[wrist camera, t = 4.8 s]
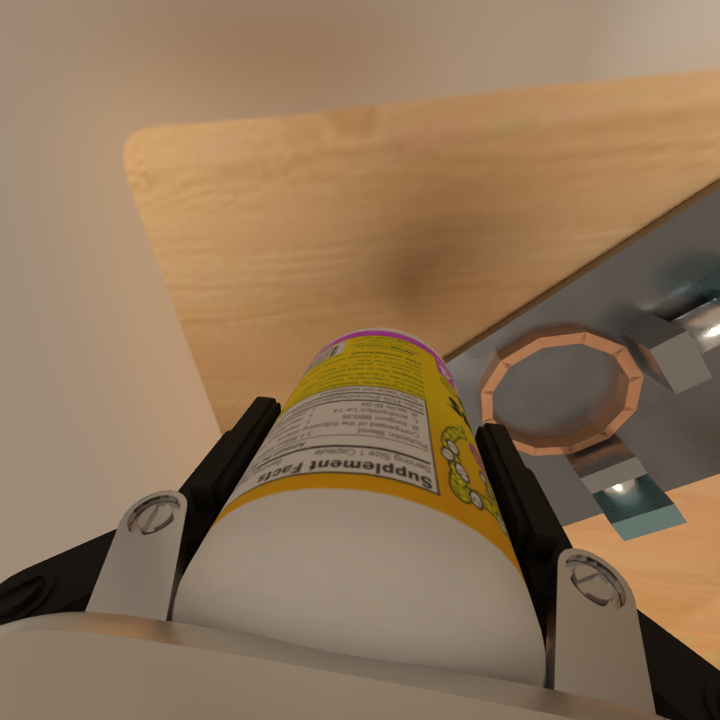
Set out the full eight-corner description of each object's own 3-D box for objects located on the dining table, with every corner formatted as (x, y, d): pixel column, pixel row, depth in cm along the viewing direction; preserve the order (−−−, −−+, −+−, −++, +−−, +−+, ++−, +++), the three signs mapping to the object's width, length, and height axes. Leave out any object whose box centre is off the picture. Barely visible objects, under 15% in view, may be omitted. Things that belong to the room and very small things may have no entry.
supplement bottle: (443, 453, 15) (589, 1222, 4) (312, 441, 16) (74, 1063, 4) (464, 324, 12) (1551, 2067, 1) (303, 316, 13) (-511, 1173, 1)
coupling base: (524, 529, 33) (543, 579, 28) (395, 389, 27) (393, 425, 23) (821, 424, 23) (917, 475, 19) (718, 179, 18) (822, 170, 13)
